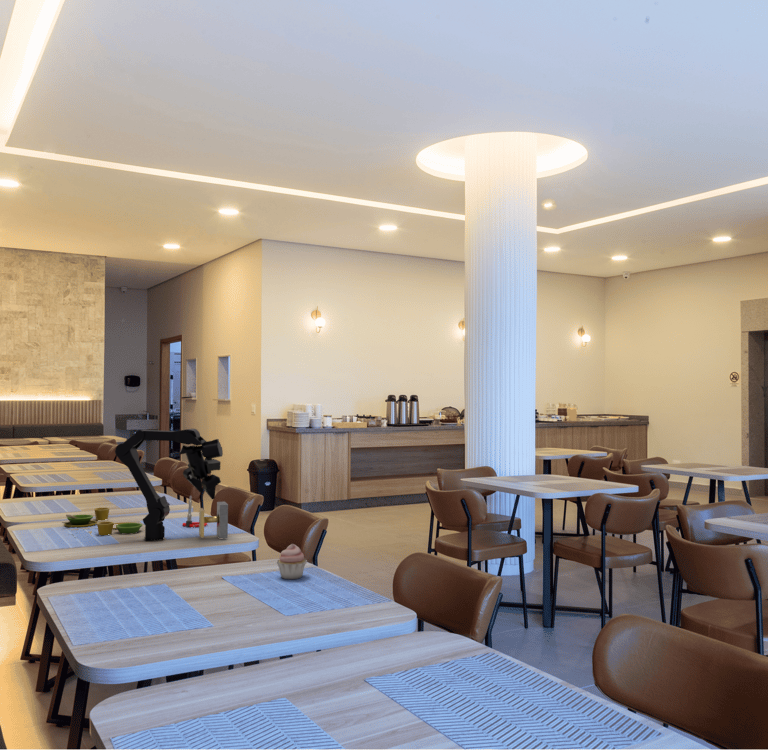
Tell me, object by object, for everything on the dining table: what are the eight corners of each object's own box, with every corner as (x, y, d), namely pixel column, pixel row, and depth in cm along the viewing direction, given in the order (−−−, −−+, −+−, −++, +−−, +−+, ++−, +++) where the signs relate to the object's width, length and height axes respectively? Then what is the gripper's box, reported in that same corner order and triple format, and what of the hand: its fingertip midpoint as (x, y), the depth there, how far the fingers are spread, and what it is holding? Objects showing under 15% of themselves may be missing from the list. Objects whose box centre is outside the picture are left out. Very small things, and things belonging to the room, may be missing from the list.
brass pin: (200, 537, 266) (201, 510, 267) (198, 534, 272) (199, 508, 272) (227, 535, 270) (228, 509, 270) (225, 532, 275) (225, 507, 276)
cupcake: (278, 582, 208) (278, 547, 208) (274, 574, 217) (274, 541, 217) (309, 580, 210) (310, 546, 210) (304, 572, 219) (305, 539, 219)
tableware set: (60, 523, 301) (60, 508, 301) (128, 518, 315) (128, 504, 315) (71, 541, 266) (72, 524, 266) (148, 534, 280) (148, 518, 280)
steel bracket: (219, 539, 268) (220, 504, 268) (216, 535, 275) (217, 501, 276) (227, 539, 269) (228, 504, 269) (224, 535, 276) (224, 501, 277)
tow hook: (197, 524, 302) (180, 526, 294) (199, 493, 303) (182, 495, 295) (211, 526, 297) (194, 528, 290) (213, 495, 298) (196, 496, 290)
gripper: (226, 457, 267) (237, 492, 273) (202, 445, 280) (212, 479, 286) (201, 470, 260) (212, 506, 266) (177, 458, 274) (188, 492, 279)
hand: (207, 495), depth 275 cm, fingers open, 9 cm apart
